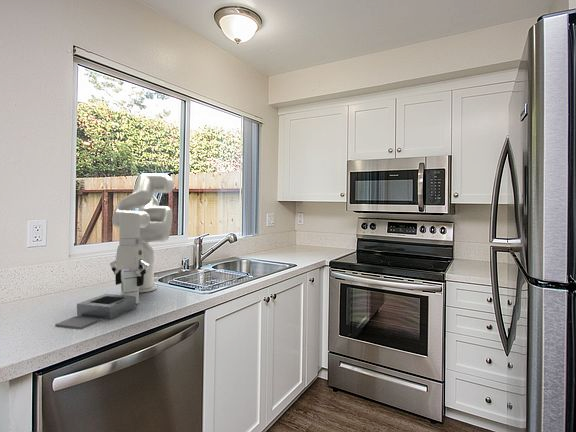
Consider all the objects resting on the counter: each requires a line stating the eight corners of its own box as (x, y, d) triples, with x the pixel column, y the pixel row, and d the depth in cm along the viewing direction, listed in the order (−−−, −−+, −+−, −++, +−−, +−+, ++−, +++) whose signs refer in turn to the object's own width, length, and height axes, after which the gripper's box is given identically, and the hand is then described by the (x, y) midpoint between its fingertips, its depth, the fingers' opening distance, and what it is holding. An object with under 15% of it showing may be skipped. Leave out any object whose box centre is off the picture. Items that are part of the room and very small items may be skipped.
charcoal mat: (75, 317, 116) (75, 316, 116) (100, 320, 114) (100, 318, 114) (55, 325, 109) (55, 324, 109) (81, 329, 107) (81, 327, 107)
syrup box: (139, 303, 134) (139, 267, 133) (122, 305, 131) (122, 269, 130) (136, 299, 139) (136, 265, 138) (120, 302, 135) (120, 266, 135)
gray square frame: (105, 305, 131) (105, 293, 131) (135, 308, 128) (135, 296, 128) (77, 316, 118) (76, 303, 118) (109, 320, 115) (109, 307, 115)
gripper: (154, 242, 135) (154, 284, 136) (117, 240, 139) (117, 281, 140) (142, 244, 128) (142, 288, 128) (104, 242, 132) (103, 285, 132)
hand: (129, 284), depth 134 cm, fingers open, 9 cm apart
